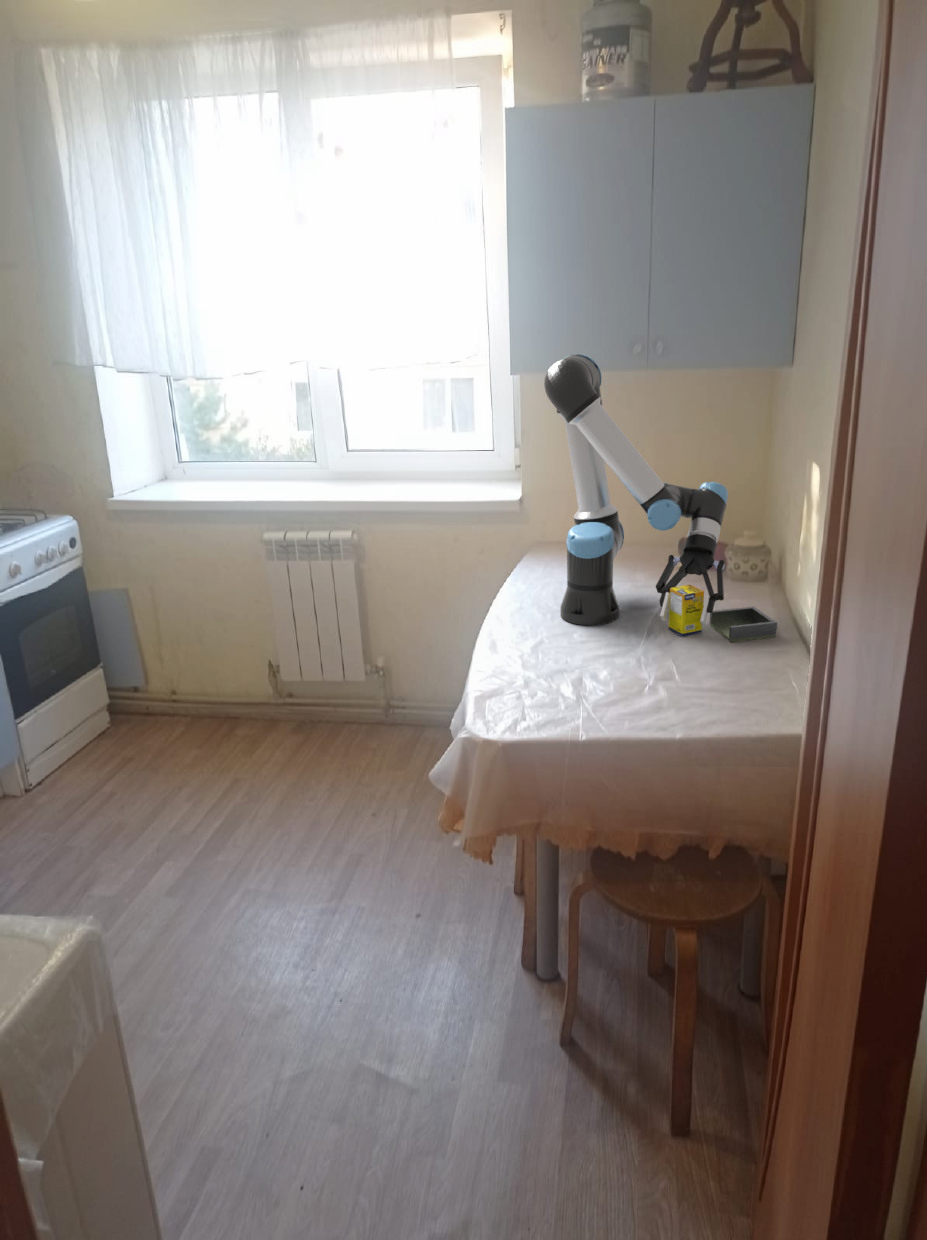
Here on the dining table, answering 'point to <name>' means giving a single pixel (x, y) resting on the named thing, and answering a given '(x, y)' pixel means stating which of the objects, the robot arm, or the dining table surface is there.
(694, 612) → the supplement box
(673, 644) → the dining table surface
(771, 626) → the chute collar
